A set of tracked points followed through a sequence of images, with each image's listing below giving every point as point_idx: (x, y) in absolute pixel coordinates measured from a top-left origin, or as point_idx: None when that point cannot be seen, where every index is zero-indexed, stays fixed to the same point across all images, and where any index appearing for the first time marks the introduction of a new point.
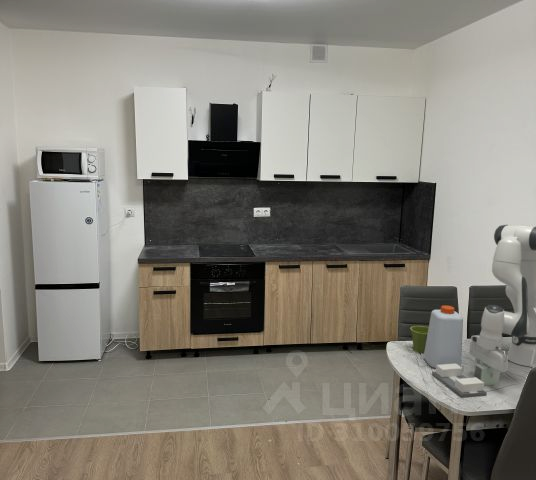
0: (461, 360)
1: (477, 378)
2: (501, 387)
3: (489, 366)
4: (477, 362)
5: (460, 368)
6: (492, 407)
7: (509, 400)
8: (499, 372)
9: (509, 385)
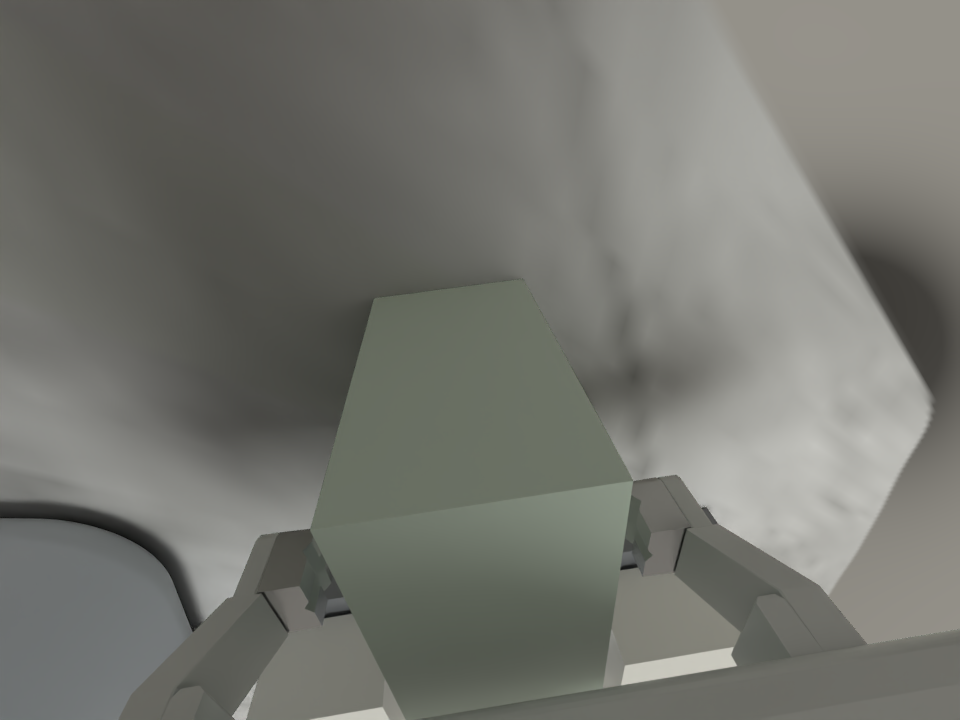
0: (10, 636)
1: (649, 662)
2: (615, 289)
3: (546, 648)
4: (255, 672)
5: (388, 718)
6: (852, 532)
7: (869, 371)
8: (579, 388)
9: (589, 111)
